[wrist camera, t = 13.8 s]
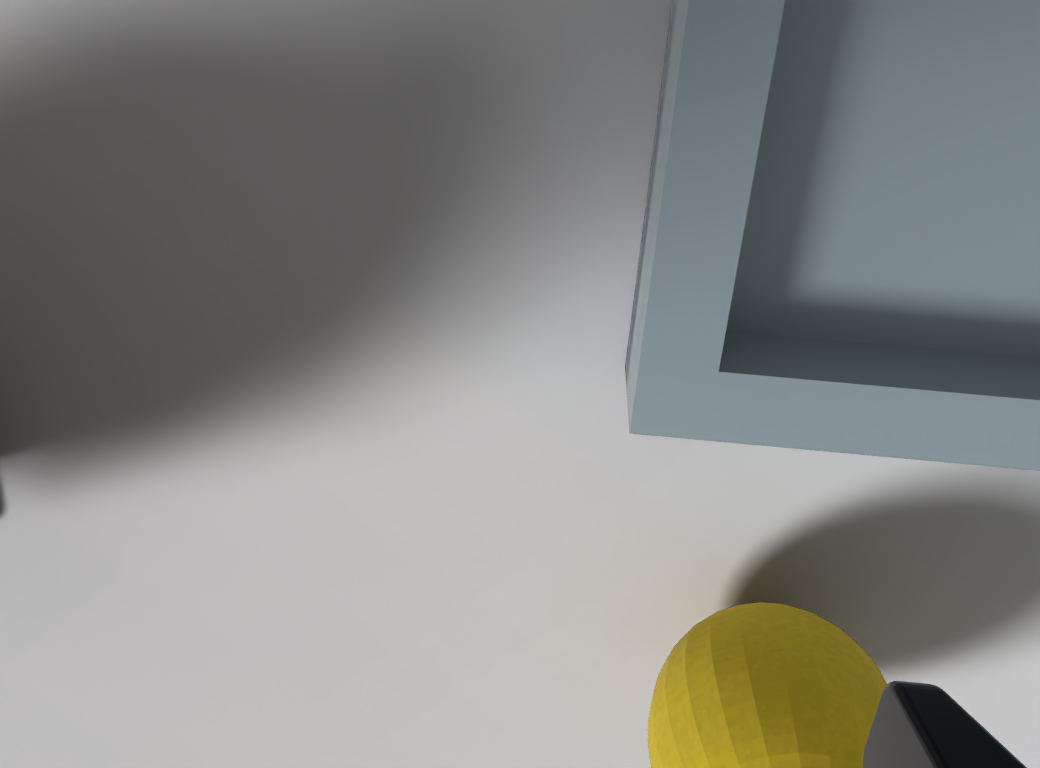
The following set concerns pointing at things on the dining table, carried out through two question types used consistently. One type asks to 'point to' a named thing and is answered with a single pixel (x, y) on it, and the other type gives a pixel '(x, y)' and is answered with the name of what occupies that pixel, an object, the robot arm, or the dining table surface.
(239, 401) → the dining table surface
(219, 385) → the dining table surface
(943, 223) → the slate tray
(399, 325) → the dining table surface
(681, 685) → the lemon
